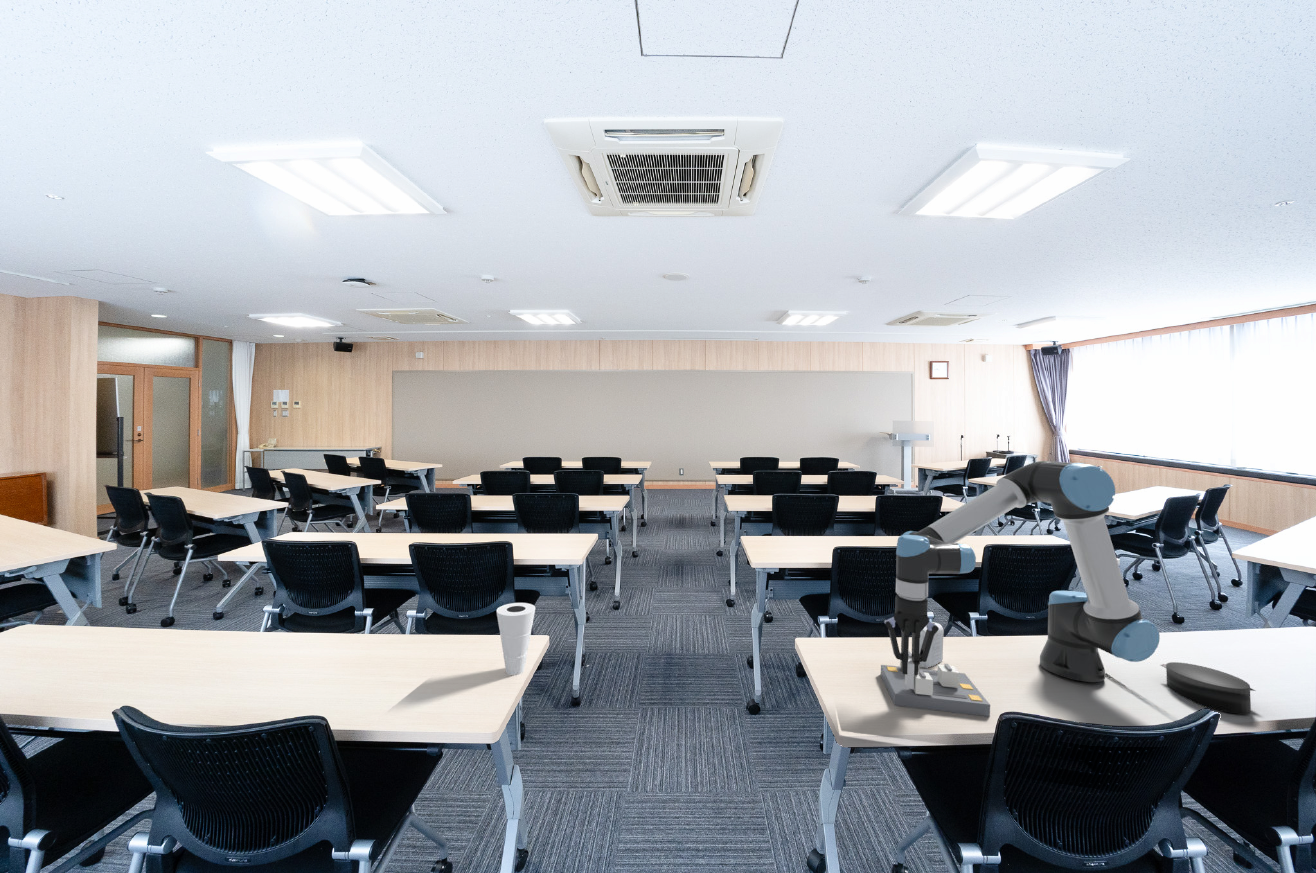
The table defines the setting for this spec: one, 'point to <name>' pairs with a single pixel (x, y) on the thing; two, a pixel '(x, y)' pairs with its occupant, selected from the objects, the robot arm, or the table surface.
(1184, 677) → the dark grey oval block
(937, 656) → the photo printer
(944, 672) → the slider mid
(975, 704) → the console
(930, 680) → the slider
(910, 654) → the slider
